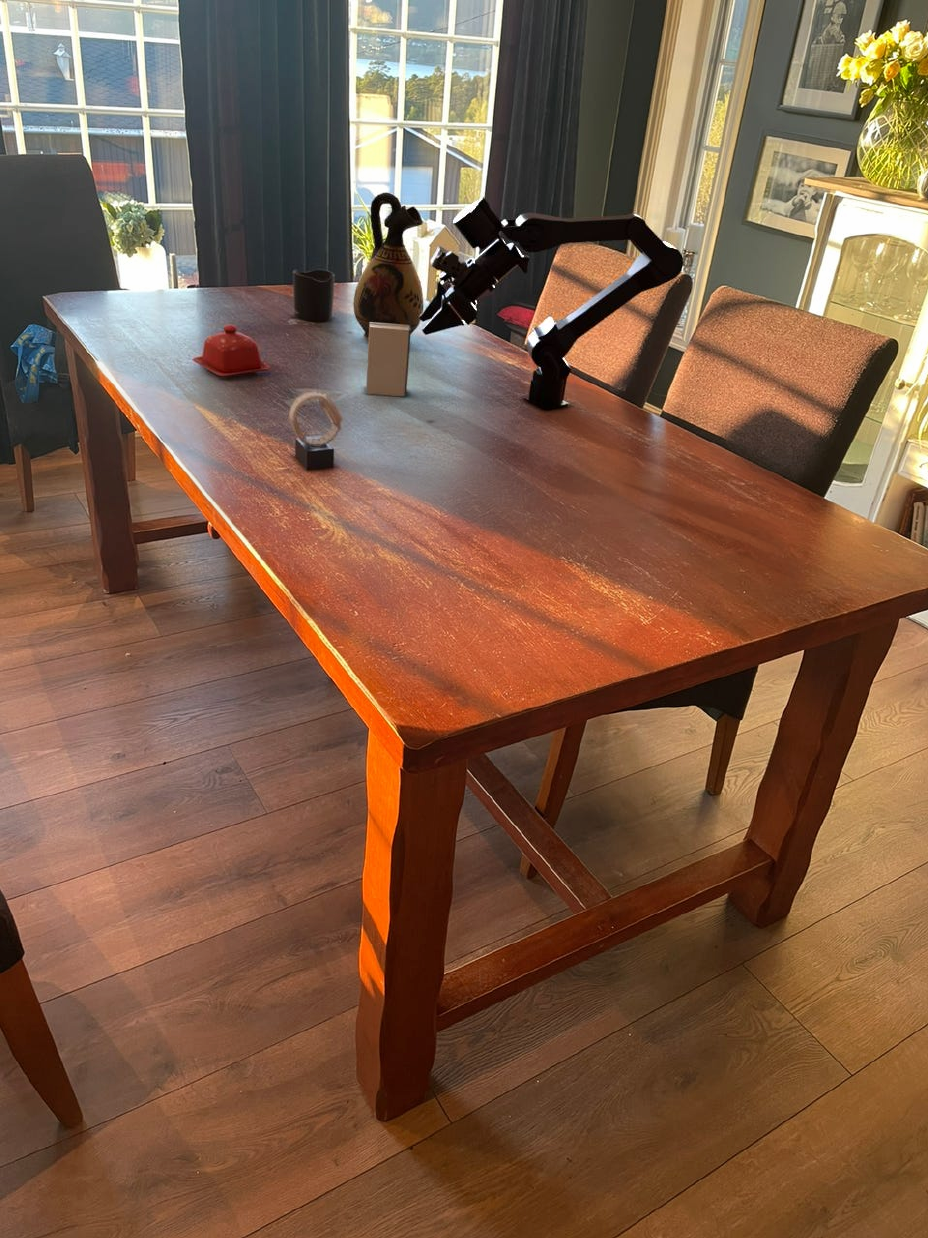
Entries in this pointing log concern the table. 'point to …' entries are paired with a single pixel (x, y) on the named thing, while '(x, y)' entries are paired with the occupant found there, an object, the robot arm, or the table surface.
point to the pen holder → (313, 295)
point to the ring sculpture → (315, 448)
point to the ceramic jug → (389, 271)
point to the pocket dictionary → (388, 359)
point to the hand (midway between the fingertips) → (422, 325)
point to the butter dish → (231, 354)
